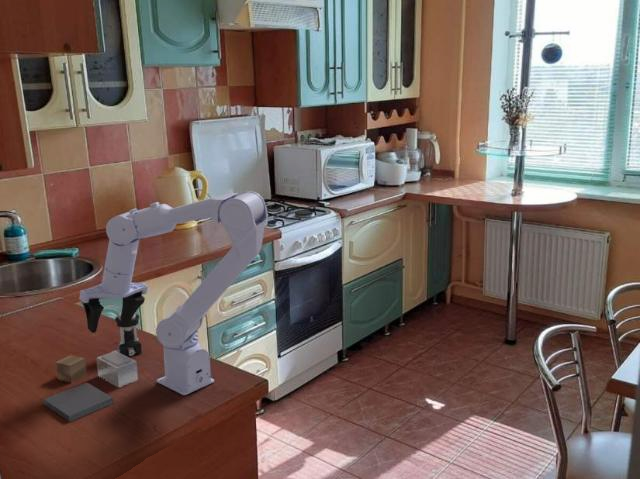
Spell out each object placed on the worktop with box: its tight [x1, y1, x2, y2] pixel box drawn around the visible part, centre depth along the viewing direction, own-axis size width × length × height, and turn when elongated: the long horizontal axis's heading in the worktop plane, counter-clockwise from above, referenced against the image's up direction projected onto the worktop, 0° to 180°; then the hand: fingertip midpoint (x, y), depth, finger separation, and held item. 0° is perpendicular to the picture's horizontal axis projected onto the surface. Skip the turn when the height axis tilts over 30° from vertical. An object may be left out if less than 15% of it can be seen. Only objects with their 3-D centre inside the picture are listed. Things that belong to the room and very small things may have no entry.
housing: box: [96, 350, 139, 389], centre depth 128 cm, size 8×4×5 cm, turn 50°
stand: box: [43, 382, 114, 423], centre depth 118 cm, size 10×9×1 cm
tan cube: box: [55, 354, 87, 383], centre depth 129 cm, size 4×4×4 cm
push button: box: [111, 312, 143, 357], centre depth 139 cm, size 7×5×10 cm
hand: (108, 327), depth 128 cm, fingers open, 7 cm apart
